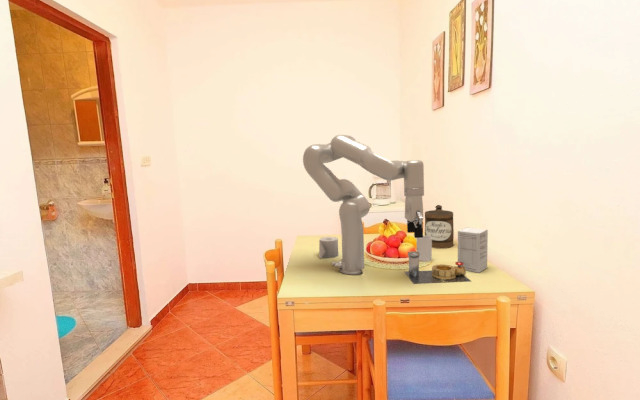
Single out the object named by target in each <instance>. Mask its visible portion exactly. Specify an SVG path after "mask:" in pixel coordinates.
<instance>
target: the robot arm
mask: <svg viewBox="0 0 640 400" xmlns="http://www.w3.org/2000/svg"><path fill="white" fill-rule="evenodd" d="M343 158H344V159H346V160H347V161H350V162H352V163H354V164H356V165H358V166H360V167H361V168H362V169H363V170H366V171H367V172H368V173H370V174H372V175H374V176H375V177H379V178H380V179H382V180H385V181H389V182H390V181H395V180H398V179H399V180H400V179H403V193H404V194H403V195H404V197H405V199H404V219H405V220H406V230H407V231H406V232H407V233H408V234H409V233H413V237H414V238H415V239H417V238H422V237H423V235H424V225H423V224H424V222H423V221H424V204H423V197H424V196H425V180H424V179H425V177H424V175H425V173H424V169H425V168H424V167H425V166H424V162H423V161H422V160H419V159H418V160H417V159H416V160H413V159H412V160H405V161H404V160H389V159H387V158H385V157H383V156H380V155H378V154H377V153H374V151H372V149H371V147H370V146H369V145H366V144H364V143H361V142H360V141H356V139H355V137H353V136H351V135H346V134H338V135H335V136H334V137H333V138H331V140H330V142H329V143H325V144H323V143H322V144H321V143H319V144H312V145H309V146H307V148H305V150H304V152H303V157H302V162H303V166H304V169H305V172H307V174H308V175H309V177H310V178H311V179H312V180H313V181H314V182H315V183H316V184H317V186H318V188H319V189H321V190H322V192H323V193H324V194H325V196H326V197H327V198H328V199H329V200H330V201H331V202H334V203H335V202H336V203H339V202H342V203H341V204H340V207H339V209H338V216H339V219H340V229H341V255H342V256H341V257H342V258H341V259H340V260H339V261H331V266H332V267H335V268H338V271H339V273H342V274H346V275H351V276H353V275H362V274H364V273H363V269H365V241H364V240H365V237H364V234H365V233H364V224H363V220H362V218H364V217H365V216H367V215H368V214H369V213H370V208H371V206H370V202H369V201H368V199H367V198H366V196H365V195H364V194H363V193H362V192H361V191H360V189H359V188H357V186H356V185H355V184H354V183H353V182H352V181H350V180H348V179H345V178H341V179H339V178H338V177H337V176H336V175H335V174H334V172H333V171H332V170H330V168H329V167H327V166H326V165H325V164H328V163H329V164H330V163H331V162H334V161H337V160H339V159H343Z"/></svg>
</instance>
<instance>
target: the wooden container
mask: <svg viewBox="0 0 640 400" xmlns="http://www.w3.org/2000/svg"><path fill="white" fill-rule="evenodd" d="M454 233H455V232H454V212H453V211H452V210H443V206H442V205H440V204H436V206H435V209H434V210H426V211H425V212H424V236H431V237H432V249H449V248H452V247H453V246H454V237H455V236H454Z"/></svg>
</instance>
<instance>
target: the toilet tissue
mask: <svg viewBox="0 0 640 400" xmlns="http://www.w3.org/2000/svg"><path fill="white" fill-rule="evenodd" d="M318 241H319V244H318V245H319V247H318V248H319V251H318V253H319V255H318V258H319V259H320V260H321V259H323V258H325V259H333V258H338V257H339V238H338V237H336V236H335V237H334V236H326V237H325V236H324V237H320V238H319V240H318Z"/></svg>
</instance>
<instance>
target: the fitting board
mask: <svg viewBox="0 0 640 400" xmlns="http://www.w3.org/2000/svg"><path fill="white" fill-rule="evenodd" d="M455 265H456V266H452V265H448V264H435V265H432V266H431V270H419V276H410V275H409V271H404V274H405V275H406V277H408V278H409V280H410V281H411V283H412V284H413V285H422V284H423V285H424V284H443V283H444V284H446V283H468V282H470V283H471V282H472V280H471V279H469V278H468V277H467V276H466V274H467V272H466V271H467V270H466V269H465V267H464V266H460V265H464V263H463V262H458V261H455Z"/></svg>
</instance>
